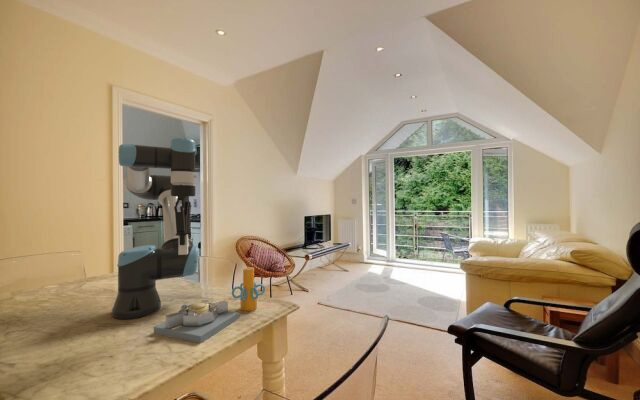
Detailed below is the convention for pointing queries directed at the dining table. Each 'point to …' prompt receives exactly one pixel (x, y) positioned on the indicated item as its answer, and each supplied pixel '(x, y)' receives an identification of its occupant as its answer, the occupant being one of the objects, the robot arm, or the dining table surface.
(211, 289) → the dining table surface
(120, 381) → the dining table surface
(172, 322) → the grey curved saddle piece
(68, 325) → the dining table surface
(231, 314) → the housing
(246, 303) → the orange post with rings
